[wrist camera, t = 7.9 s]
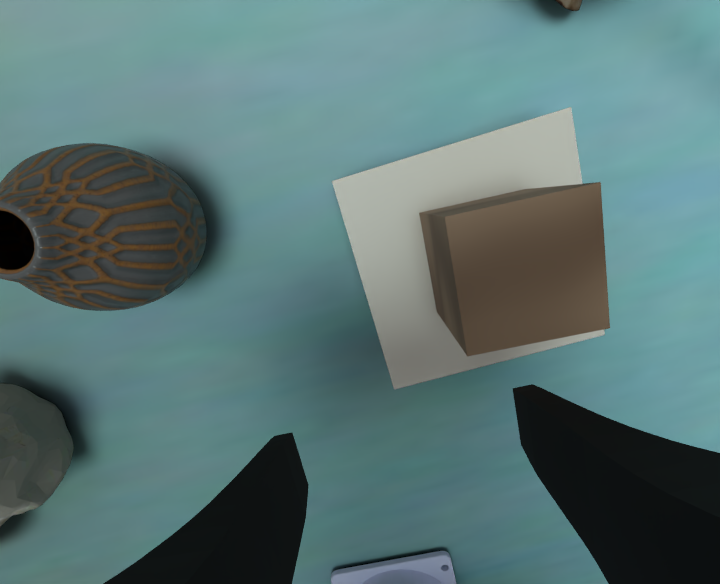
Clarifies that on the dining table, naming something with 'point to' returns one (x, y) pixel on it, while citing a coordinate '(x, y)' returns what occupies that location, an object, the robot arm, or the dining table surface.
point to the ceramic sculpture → (30, 450)
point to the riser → (406, 243)
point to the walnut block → (519, 266)
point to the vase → (98, 227)
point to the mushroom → (570, 4)
